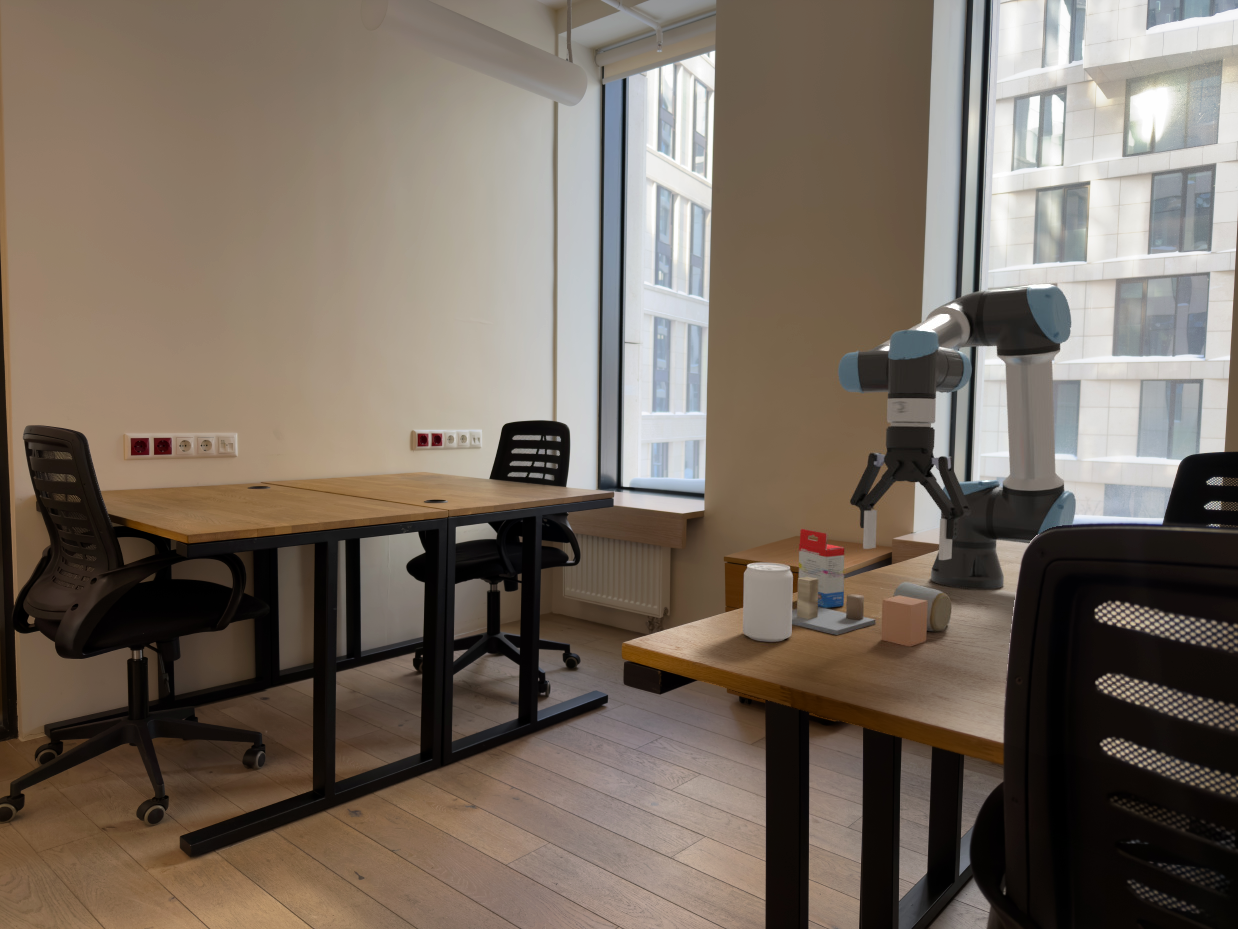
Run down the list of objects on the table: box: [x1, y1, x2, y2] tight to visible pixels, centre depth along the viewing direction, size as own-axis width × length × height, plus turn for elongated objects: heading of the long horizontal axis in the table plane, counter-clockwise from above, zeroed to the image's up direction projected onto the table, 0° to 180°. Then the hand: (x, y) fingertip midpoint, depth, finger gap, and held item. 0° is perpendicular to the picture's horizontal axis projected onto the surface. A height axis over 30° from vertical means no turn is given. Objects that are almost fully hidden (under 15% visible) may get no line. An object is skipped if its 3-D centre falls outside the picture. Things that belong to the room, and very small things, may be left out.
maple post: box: [796, 577, 819, 619], centre depth 148 cm, size 3×3×8 cm
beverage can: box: [742, 562, 794, 643], centre depth 137 cm, size 8×8×12 cm
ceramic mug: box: [892, 581, 952, 632], centre depth 145 cm, size 11×8×8 cm
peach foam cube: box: [880, 595, 928, 647], centre depth 136 cm, size 5×5×7 cm
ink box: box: [798, 528, 845, 609], centre depth 162 cm, size 8×5×15 cm, turn 27°
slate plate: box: [792, 593, 876, 636], centre depth 148 cm, size 12×14×5 cm
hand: (905, 553), depth 135 cm, fingers open, 13 cm apart
